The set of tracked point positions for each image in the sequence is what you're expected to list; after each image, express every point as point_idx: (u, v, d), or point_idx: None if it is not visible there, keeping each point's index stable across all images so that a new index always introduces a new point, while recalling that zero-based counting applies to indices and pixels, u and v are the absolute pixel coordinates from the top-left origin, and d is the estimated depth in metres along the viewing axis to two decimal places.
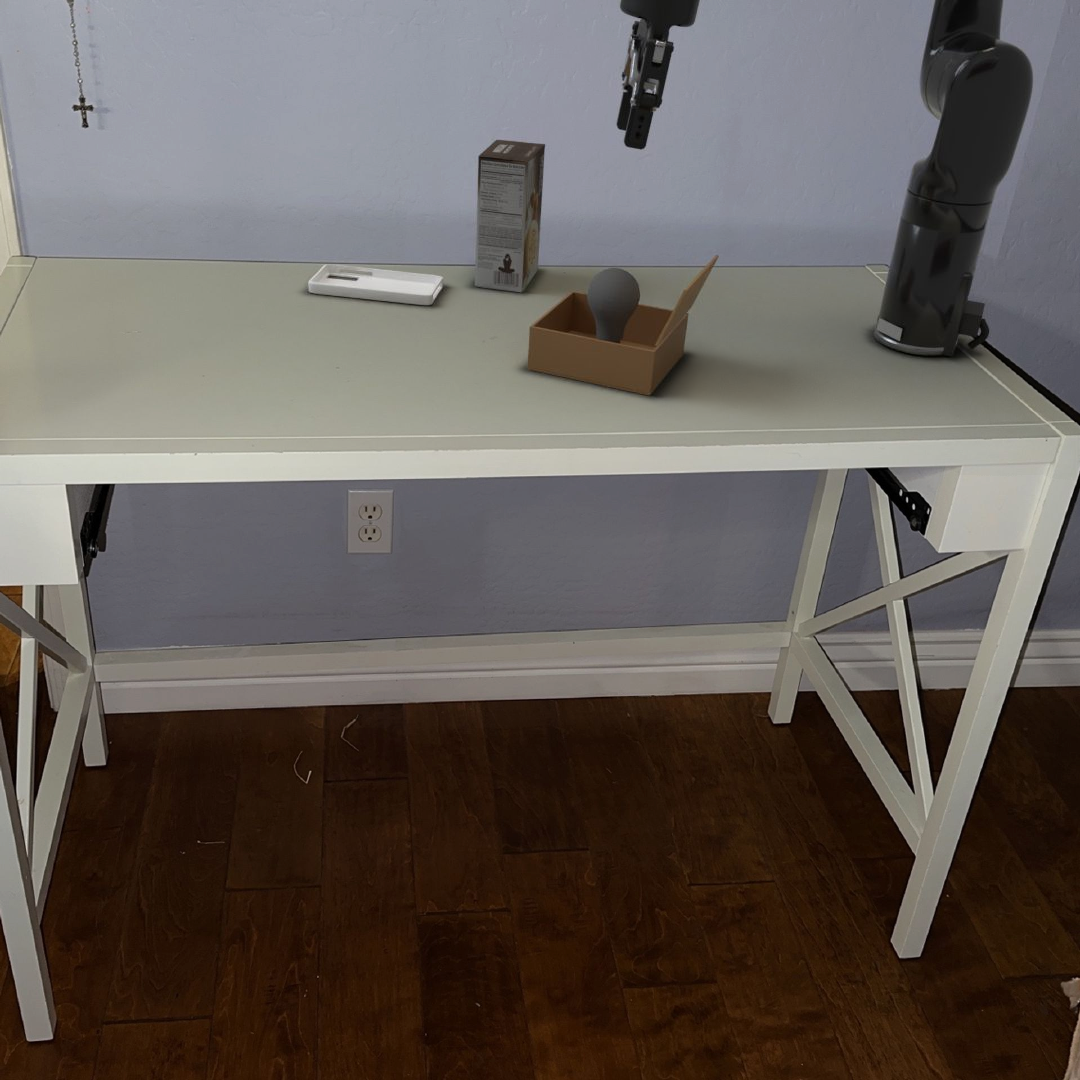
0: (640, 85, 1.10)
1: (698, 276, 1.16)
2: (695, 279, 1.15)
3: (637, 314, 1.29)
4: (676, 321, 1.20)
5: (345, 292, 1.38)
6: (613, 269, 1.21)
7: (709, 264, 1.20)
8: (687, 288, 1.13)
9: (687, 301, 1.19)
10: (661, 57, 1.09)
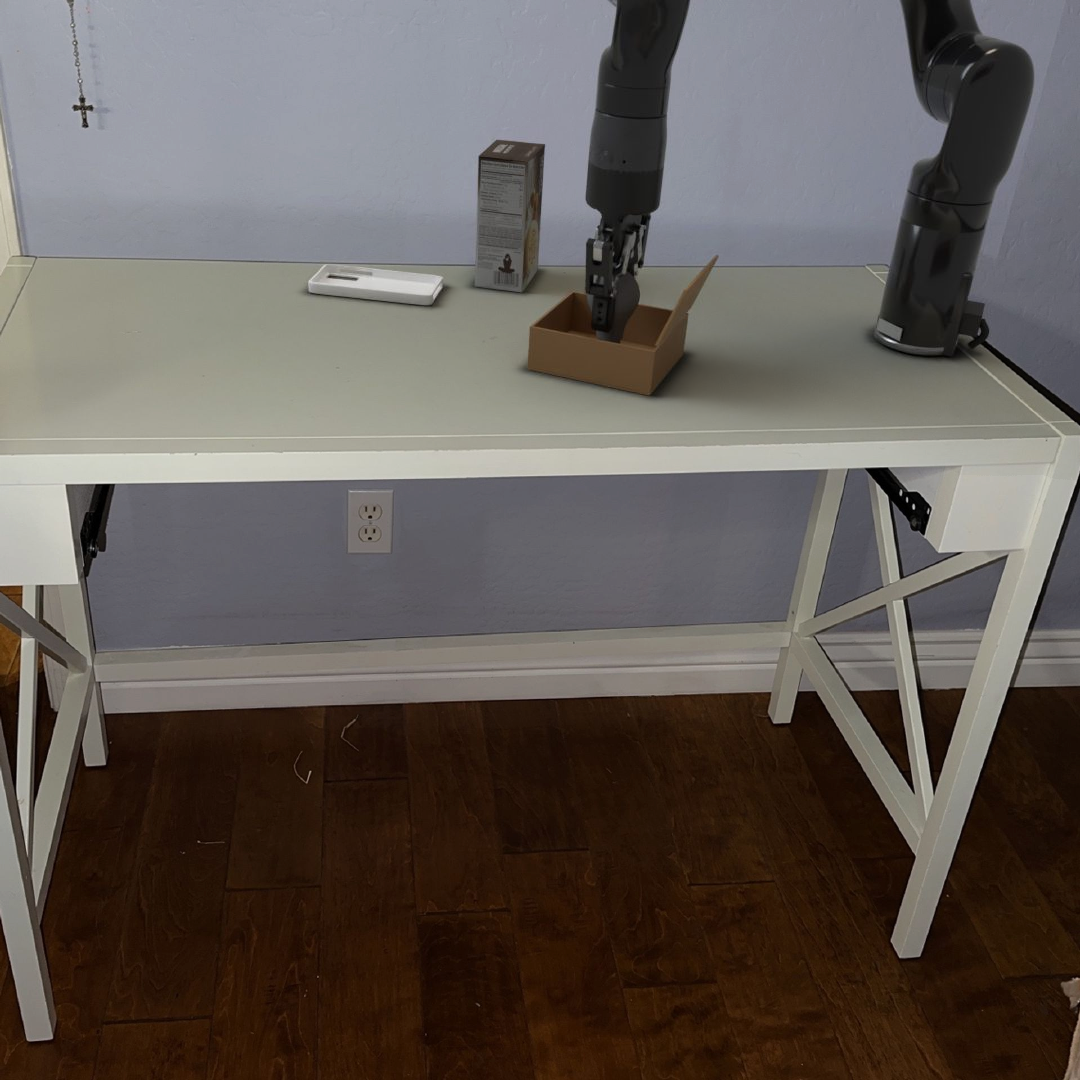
0: (586, 280, 1.16)
1: (698, 276, 1.16)
2: (695, 279, 1.15)
3: (637, 314, 1.29)
4: (676, 321, 1.20)
5: (345, 292, 1.38)
6: None
7: (709, 264, 1.20)
8: (687, 288, 1.13)
9: (687, 301, 1.19)
10: (600, 257, 1.14)
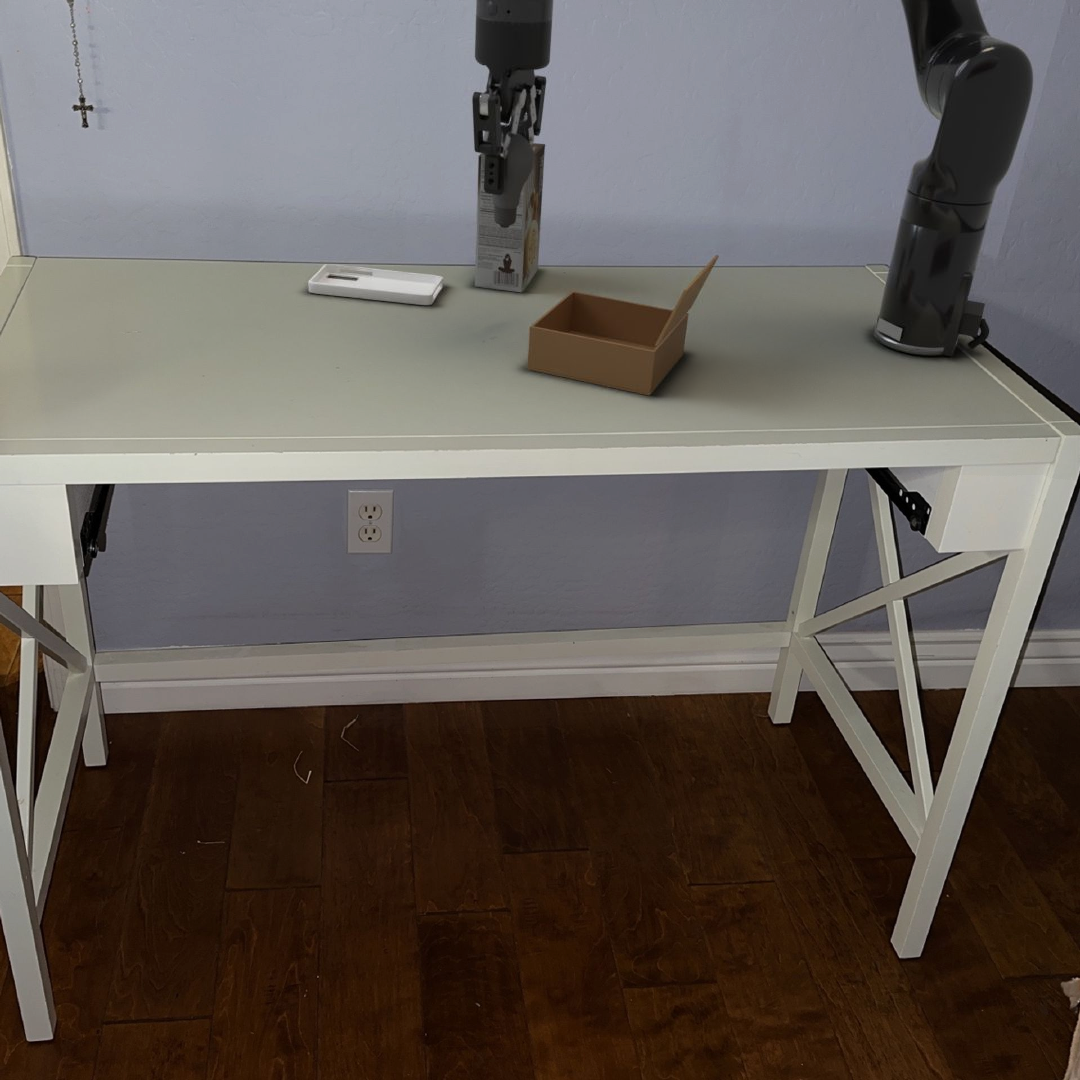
0: (475, 137, 1.15)
1: (698, 276, 1.16)
2: (695, 279, 1.15)
3: (637, 314, 1.29)
4: (676, 321, 1.20)
5: (345, 292, 1.38)
6: None
7: (709, 264, 1.20)
8: (687, 288, 1.13)
9: (687, 301, 1.19)
10: (487, 111, 1.13)
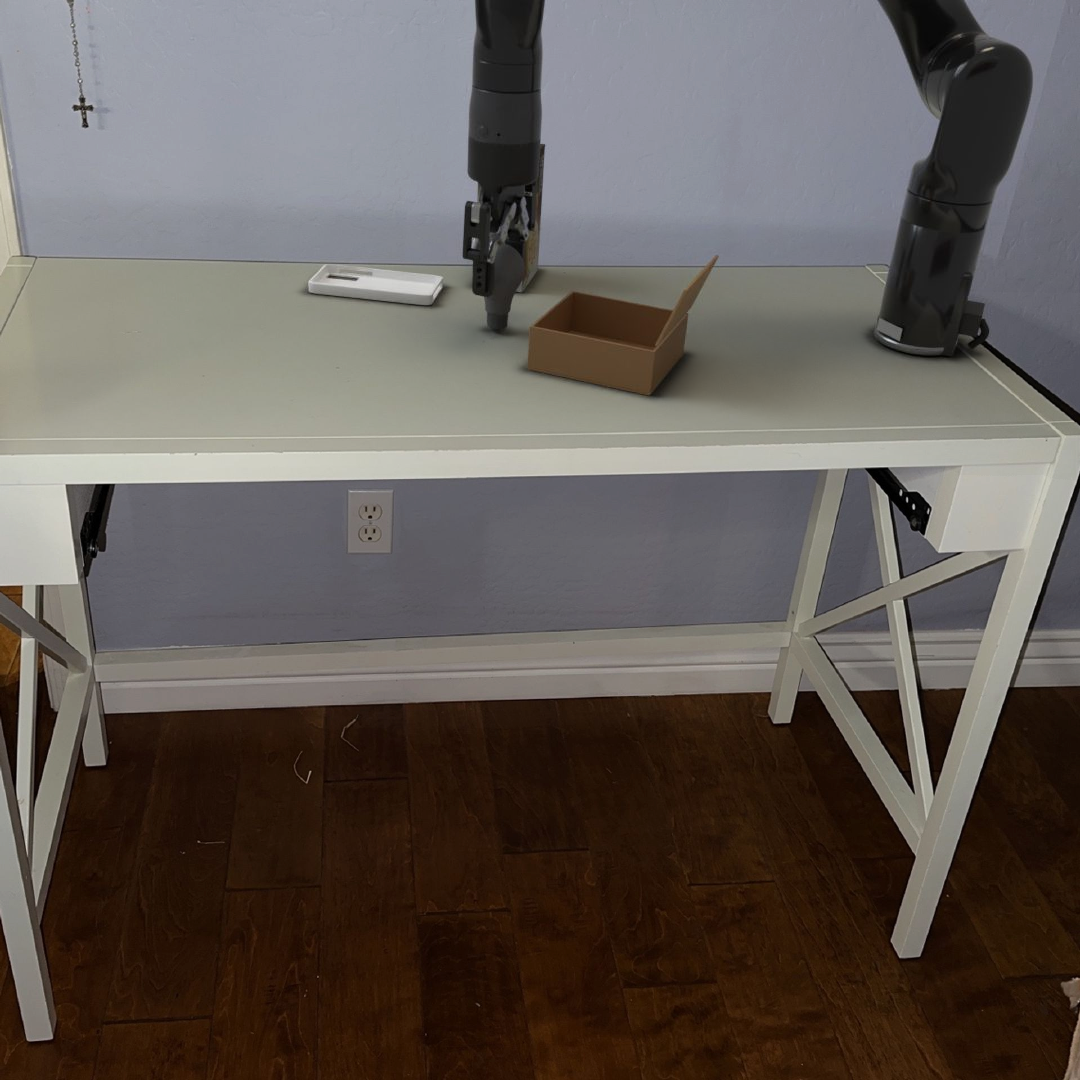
0: (464, 243, 1.20)
1: (698, 276, 1.16)
2: (695, 279, 1.15)
3: (637, 314, 1.29)
4: (676, 321, 1.20)
5: (345, 292, 1.38)
6: None
7: (709, 264, 1.20)
8: (687, 288, 1.13)
9: (687, 301, 1.19)
10: (478, 218, 1.19)
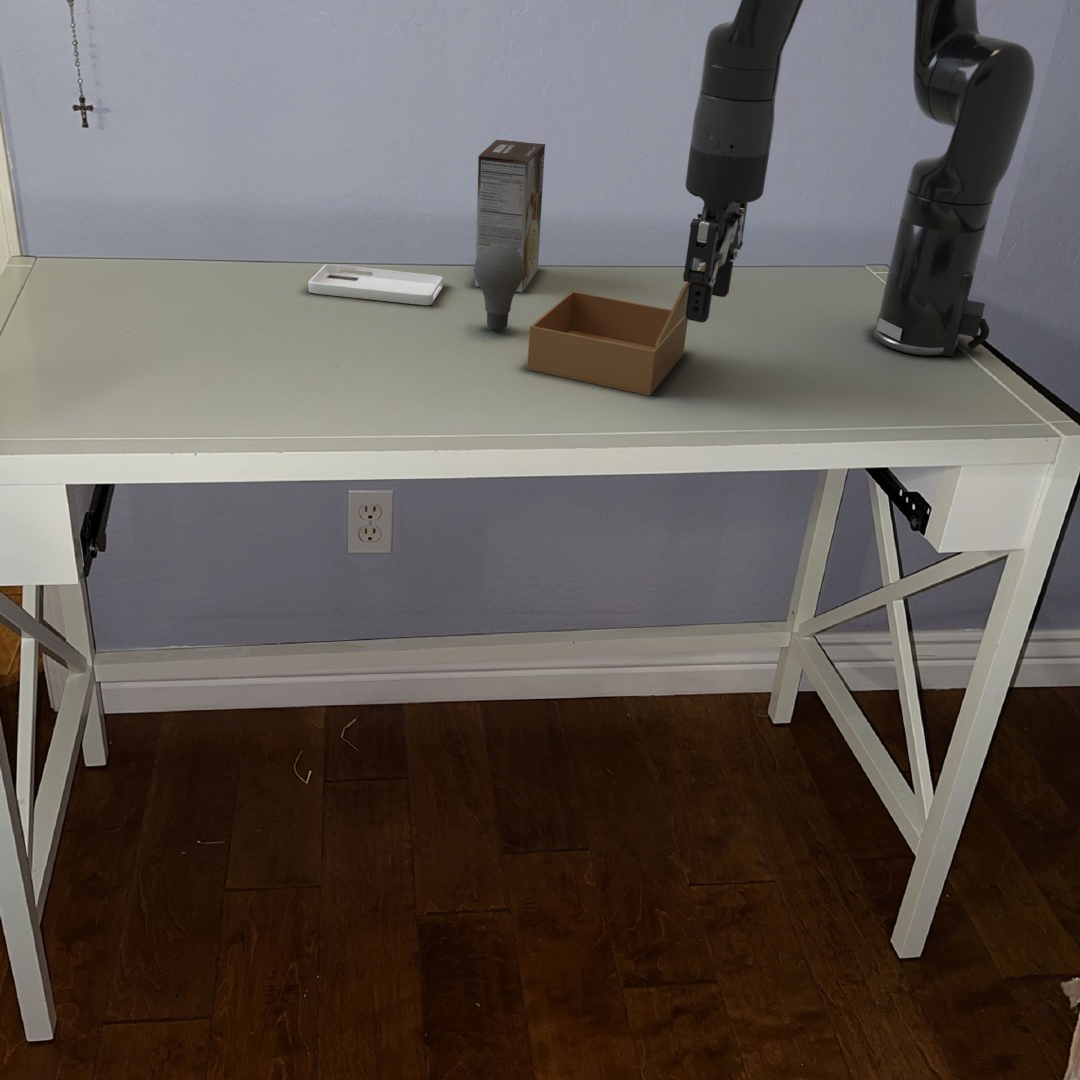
0: (686, 264, 1.10)
1: None
2: None
3: (637, 314, 1.29)
4: (676, 321, 1.20)
5: (345, 292, 1.38)
6: (497, 244, 1.26)
7: None
8: (685, 287, 1.13)
9: (686, 300, 1.19)
10: (705, 238, 1.08)
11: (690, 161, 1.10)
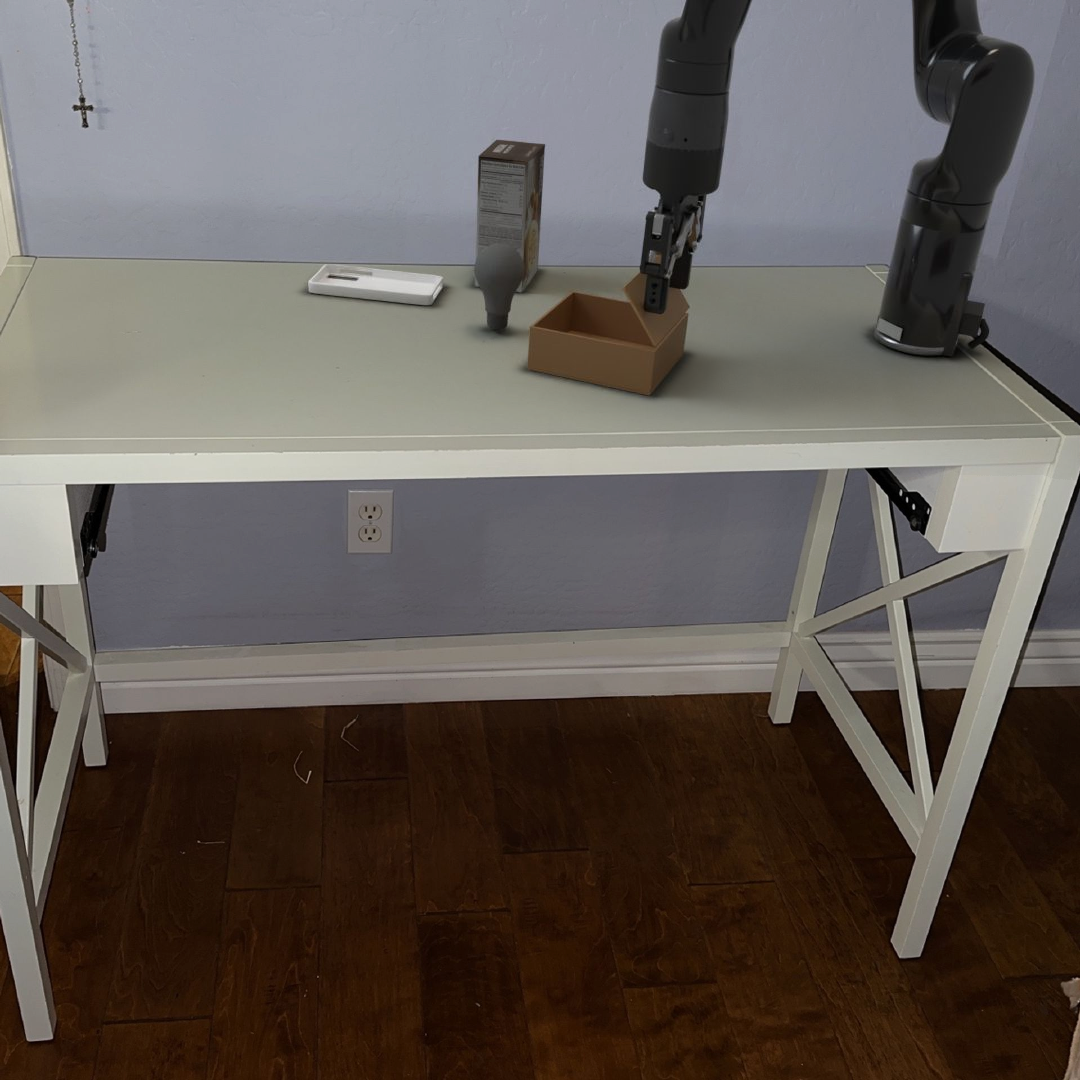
0: (642, 257, 1.11)
1: (637, 274, 1.18)
2: (633, 277, 1.17)
3: None
4: (666, 319, 1.20)
5: (345, 292, 1.38)
6: (497, 244, 1.26)
7: None
8: None
9: None
10: (660, 230, 1.10)
11: (646, 154, 1.12)
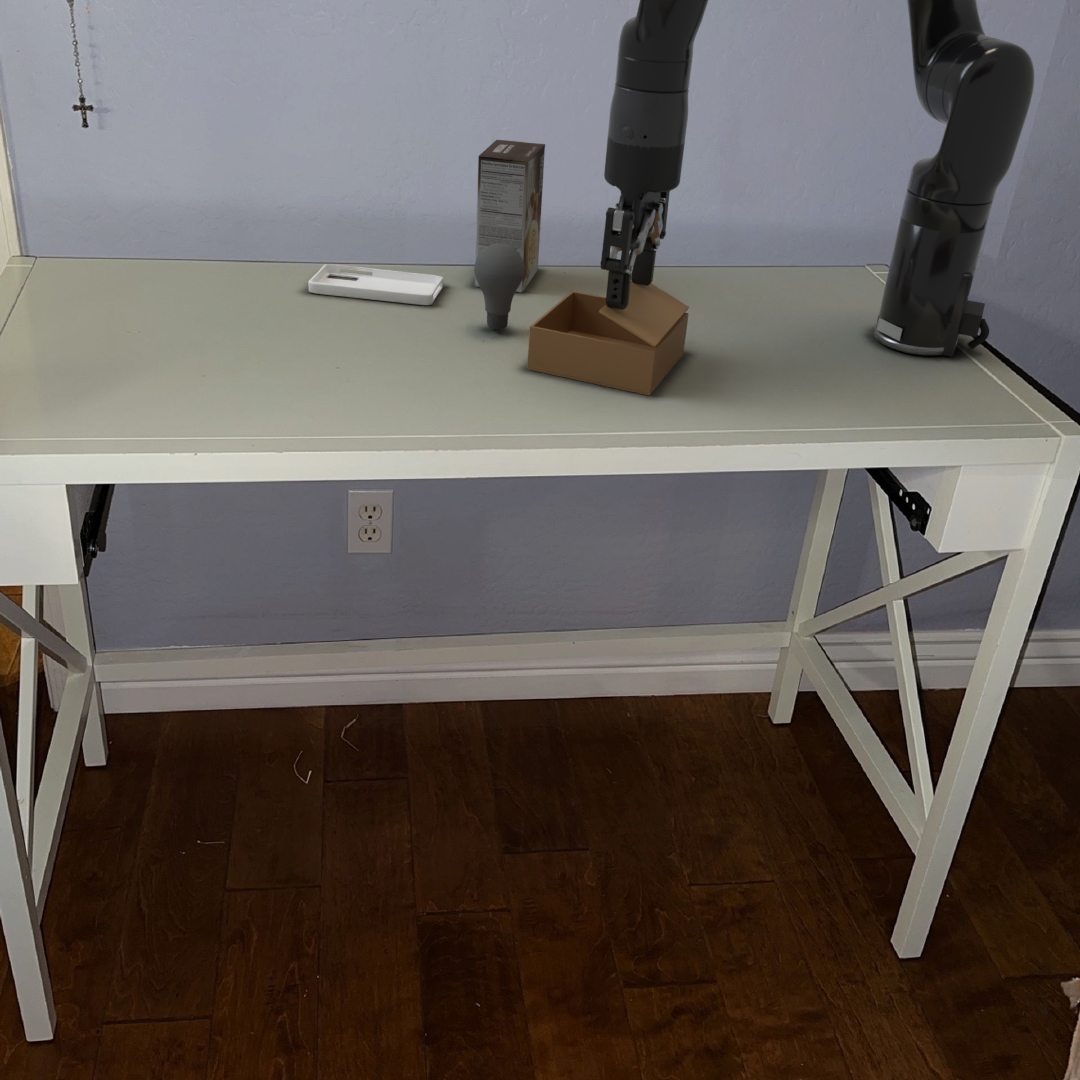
0: (603, 252, 1.13)
1: None
2: None
3: None
4: (661, 322, 1.20)
5: (345, 292, 1.38)
6: (497, 244, 1.26)
7: None
8: (601, 309, 1.17)
9: (642, 310, 1.21)
10: (620, 226, 1.11)
11: (607, 151, 1.13)
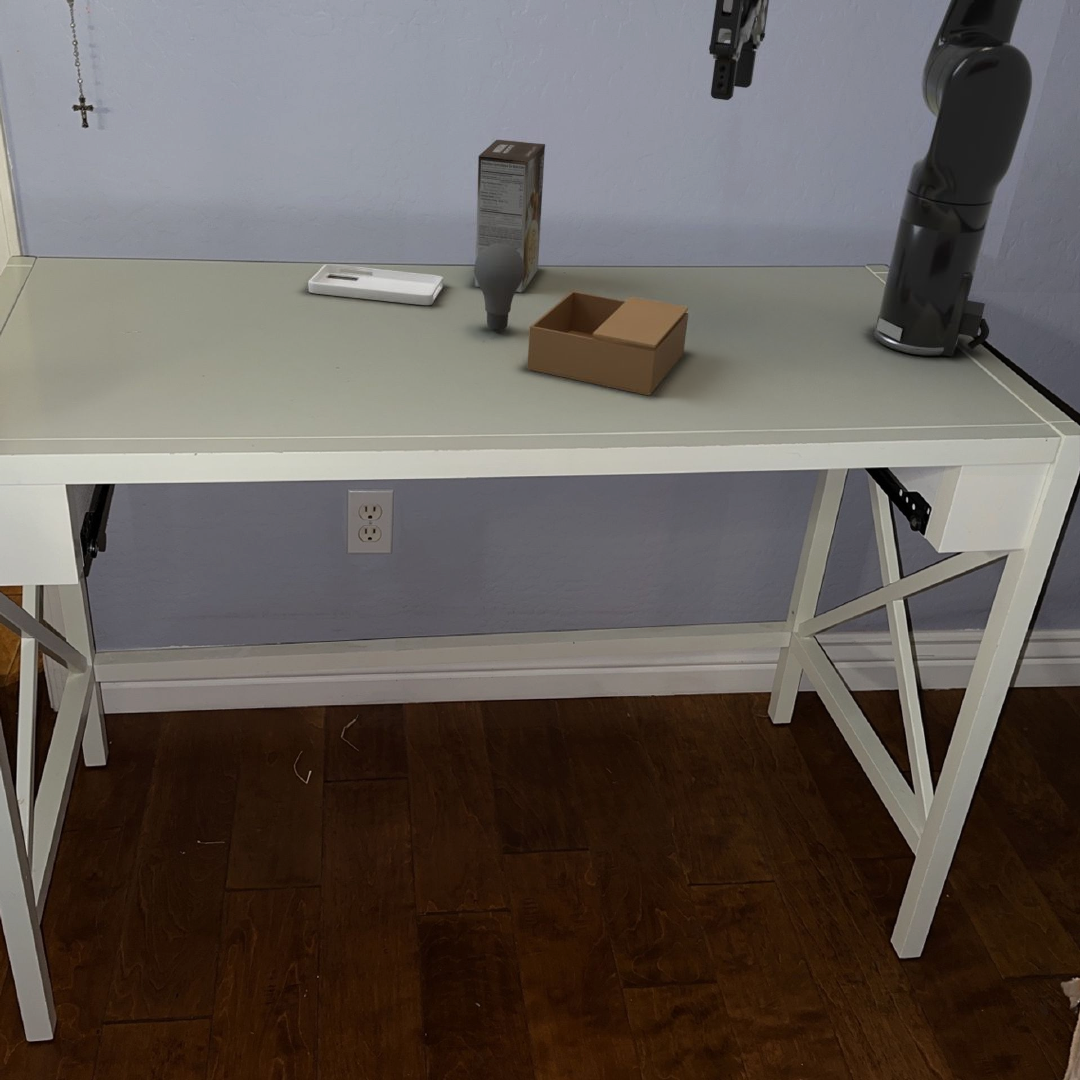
0: (712, 35, 1.15)
1: (607, 320, 1.22)
2: (604, 323, 1.21)
3: None
4: (659, 326, 1.21)
5: (345, 292, 1.38)
6: (497, 244, 1.26)
7: None
8: (594, 332, 1.19)
9: (638, 321, 1.22)
10: (731, 6, 1.13)
11: None
